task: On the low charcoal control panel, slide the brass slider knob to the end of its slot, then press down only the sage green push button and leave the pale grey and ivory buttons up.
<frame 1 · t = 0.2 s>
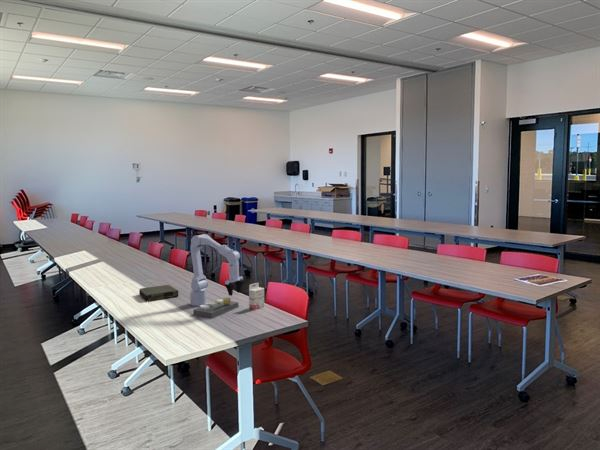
hand: (234, 293, 269), 9 cm above the table, tool pointing down, fingers open, 7 cm apart
ivory button: (220, 302, 274), point 3 cm above the table, slide at 0.0 cm
sage button: (212, 305, 268), point 3 cm above the table, slide at 0.0 cm
brass slider: (226, 300, 268), point 5 cm above the table, slide at 0.0 cm
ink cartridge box: (257, 308, 271), on the table
network switch: (158, 296, 303), on the table
grey button: (204, 308, 261), point 3 cm above the table, slide at 0.0 cm
control panel: (216, 310, 266), on the table
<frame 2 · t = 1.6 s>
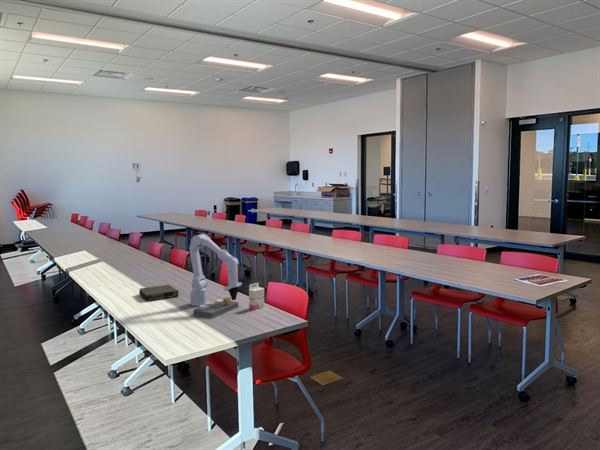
hand: (233, 299, 274), 4 cm above the table, tool pointing down, fingers closed
nothing on the table moved.
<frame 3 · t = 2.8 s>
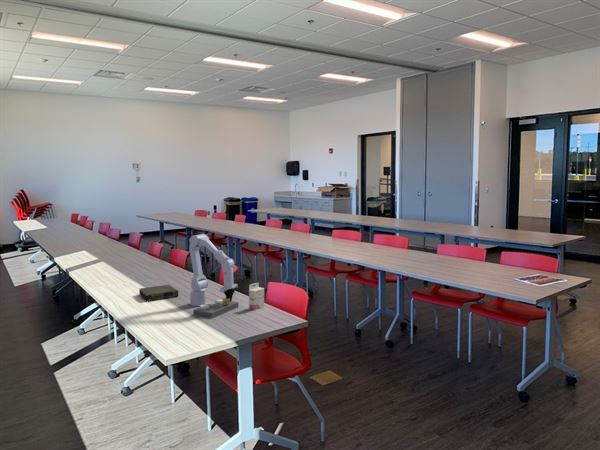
hand: (229, 301, 270), 4 cm above the table, tool pointing down, fingers closed
brass slider: (226, 301, 268), point 5 cm above the table, slide at 0.6 cm, touching gripper
everything else where it was.
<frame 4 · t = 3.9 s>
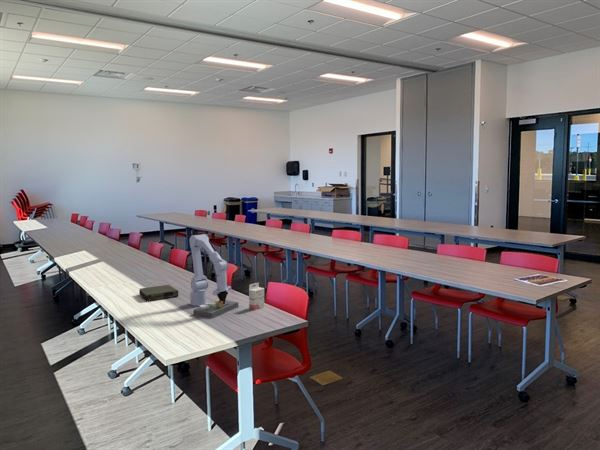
hand: (222, 304, 265), 4 cm above the table, tool pointing down, fingers closed
brass slider: (219, 303, 262), point 5 cm above the table, slide at 6.9 cm, touching gripper
everything else where it was.
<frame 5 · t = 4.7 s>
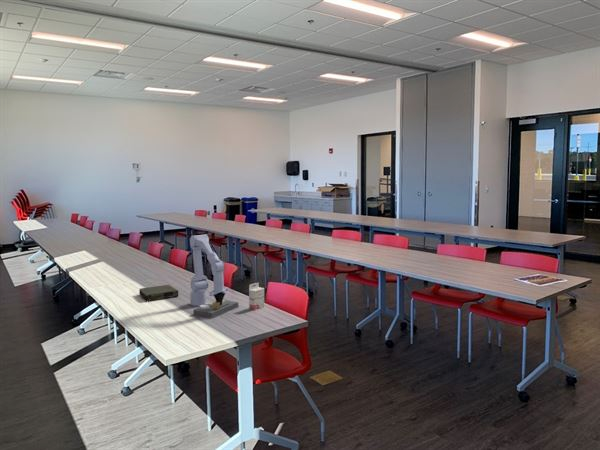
hand: (219, 305, 262), 4 cm above the table, tool pointing down, fingers closed
brass slider: (216, 305, 260), point 5 cm above the table, slide at 9.7 cm, touching gripper
everything else where it was.
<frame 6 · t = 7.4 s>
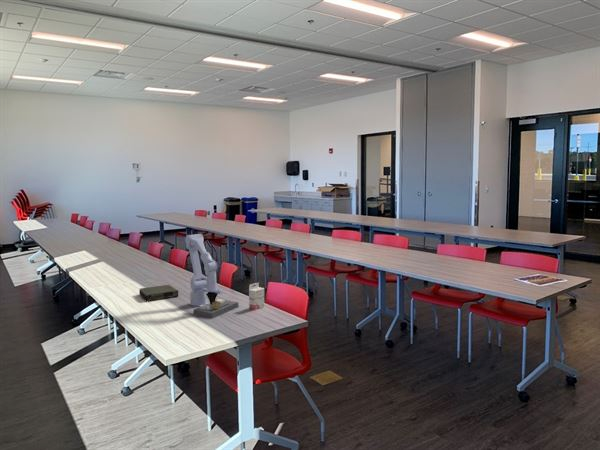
hand: (212, 304, 267), 3 cm above the table, tool pointing down, fingers closed, pressing on sage button
sage button: (212, 306, 268), point 2 cm above the table, slide at 0.7 cm, touching gripper
brass slider: (216, 305, 260), point 5 cm above the table, slide at 9.9 cm
everything else where it was.
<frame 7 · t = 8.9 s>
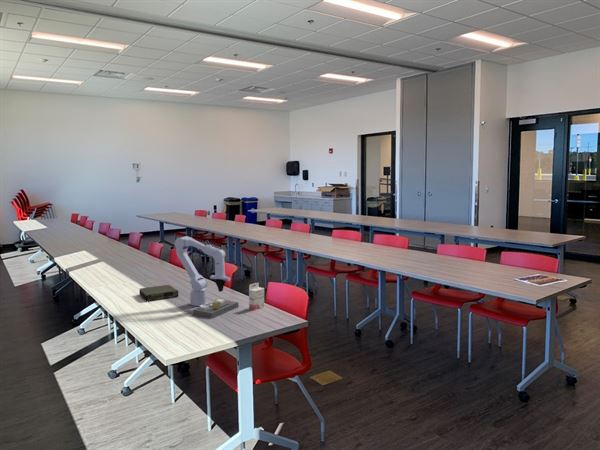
hand: (220, 291, 276), 9 cm above the table, tool pointing down, fingers closed
sage button: (212, 306, 268), point 2 cm above the table, slide at 0.8 cm
everything else where it was.
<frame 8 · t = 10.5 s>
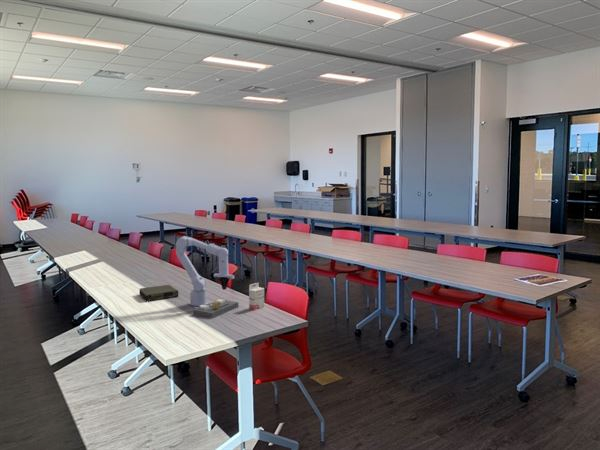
hand: (224, 289, 280), 9 cm above the table, tool pointing down, fingers closed
nothing on the table moved.
at the end: brass slider slide at 9.9 cm; sage button slide at 0.8 cm; grey button slide at 0.0 cm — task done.
